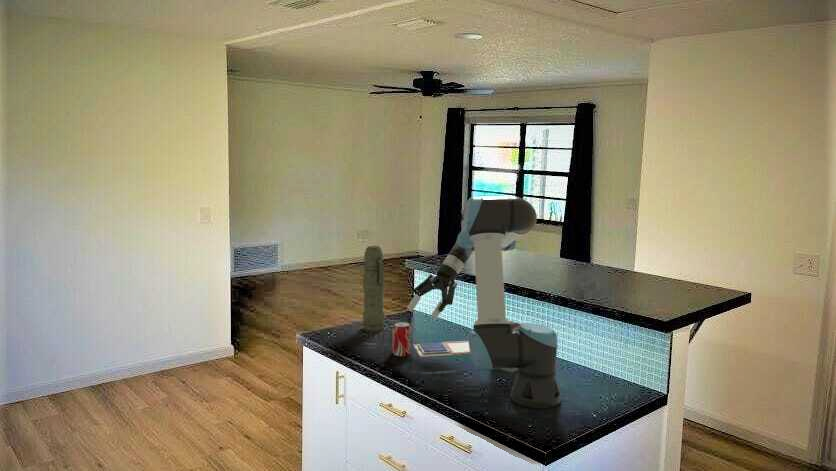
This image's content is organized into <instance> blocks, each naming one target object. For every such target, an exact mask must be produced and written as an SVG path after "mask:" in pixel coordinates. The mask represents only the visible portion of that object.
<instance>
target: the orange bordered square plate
mask: <svg viewBox="0 0 836 471" xmlns="http://www.w3.org/2000/svg"><path fill="white" fill-rule="evenodd" d="M442 343H444V344H445V346H446V347H447V348H448V350H449V351H450V352H451V354H457V355H464V354H463V353H470V349H469V340H458V341H456V340H455V341H443V342H442Z"/></svg>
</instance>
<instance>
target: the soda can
mask: <svg viewBox="0 0 836 471" xmlns="http://www.w3.org/2000/svg"><path fill="white" fill-rule="evenodd" d="M391 339H392V344H391V345H392V354H393V355H394V356H397V357H408V356H410V355H411V354H412V345H413V344H412V340H413V339H412V326H411V323H410V322H406V321H398V322H395V323H394V326H393V327H392V338H391Z"/></svg>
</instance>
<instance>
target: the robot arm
mask: <svg viewBox="0 0 836 471" xmlns="http://www.w3.org/2000/svg"><path fill="white" fill-rule="evenodd" d="M537 215H538V214H537V212H536V209H535V207H534V205H532V203H531V202H529V201H528V200H526V199H524V198H522V197H519V196H498V195H497V196H493V195H492V196H489V195H488V196H487V195H486V196H485V195H481V196H472V197H470V198H469V199H468V200H467V202H466V204H465V209H464V212H463V221H462V222H463V223H462V225H463V226H462V228H463V229H462V230H461V231H460V232H459V234H458V235H457V237H456V241H455V243H454V245H453V247H452V248H451V250H450V252H449V253H448V255H447V256H446V258H445V259H444V260H443V262H442V264H441V265H440V267H438V270H437V272H436V275H435V276H434V275H432V274H429V275H428V277H427V278H426V279H424V280H423V281H422V282H421V283H420V284H418V285H417V286H416V287H414V288H413V290H412V292H413V293H414V295H413V296H412V298H411V299H410V302H409V304H408V305H407V307H406V308H407V309H408V310H409V312H411V313H412V312H413V311H414V309H415V308H416V306H417V305H418V303H419V302H420V300H421V298H422V296H424V295H425V294H428V293H429V292H432V291H433V290H439V291H440V292H441V300H440V301H439V302H438V304H437V305H436V307H435V308H434V310H432V311H433V312H432V313H431V315H430V316H431V317H432V318H433V320H437V319H438V317H439V316H440V314H441V313H442V312H443V311H444V310H445V308H446V306H448V305H449V306H452V305H453V303H454V297H455V291H456V288H457V287H458V283H457V282H456V281H455V280H456V279H457V277H458V274H460V272H461V271H462V269H463V268H464V266H465V265H466V263H467V261H468V260H469V258H471V256H472V254H473V253H474V268H475V284H476V286H475V288H476V306H477V308H476V309H477V320H476V321H475V322H474V323H473V329H471V330H469V332H468V334H467V335H468V337H467V338H468V341H469V349H470V354H469V355H470V357H471V360H472V362H473V365H474V366H475V367H476V368H477V369H483V370H485V369H486V370H501V369H503V368H518V370H517V373H516V376H515V378H514V382H513V383H512V387H511V391H510V399H511V400H512V401H513V402H514V403H515V404H517V405H520V406H523V407H527V408H530V409H551V408H553V407H556V406H558V405H560V403H561V394H562V393H561V390H560V386H559V384H558V380H557V376H556V375H557V374H556V371H557V354H558V346H559V345H558V335H557V332H556V331H555V329H553V328H551V327H549V326H546V325H543V324H540V323H535V322H533V323H532V322H523V323H519V324H520V325H519V328H518V330H512V329H511V323H510V322H511V321H510V320H508V319H507V316H506V301H505V299H506V298H505V284H504V283H505V282H504V269H503V268H504V265H503V252H507V251H508V252H509V251H513V250H515V248H516V243H517V241H516V240H517V239H518V238H519V237H520V236H521V235H525V234H527V233H529V232H531V231H532V230H533V229H534V227H535V226H536V224H537V221H538V220H537V219H538V217H537ZM509 321H510V322H509Z"/></svg>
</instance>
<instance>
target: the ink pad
mask: <svg viewBox="0 0 836 471" xmlns="http://www.w3.org/2000/svg"><path fill="white" fill-rule="evenodd" d="M417 344H418V347H419V348H420V350H421V352H422V353H423V355H424V354H440V353H450V351H449V350H448V348H447V347H446V346H445V344H444V343H443V342H442V341H441V342H425V343H417Z"/></svg>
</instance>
